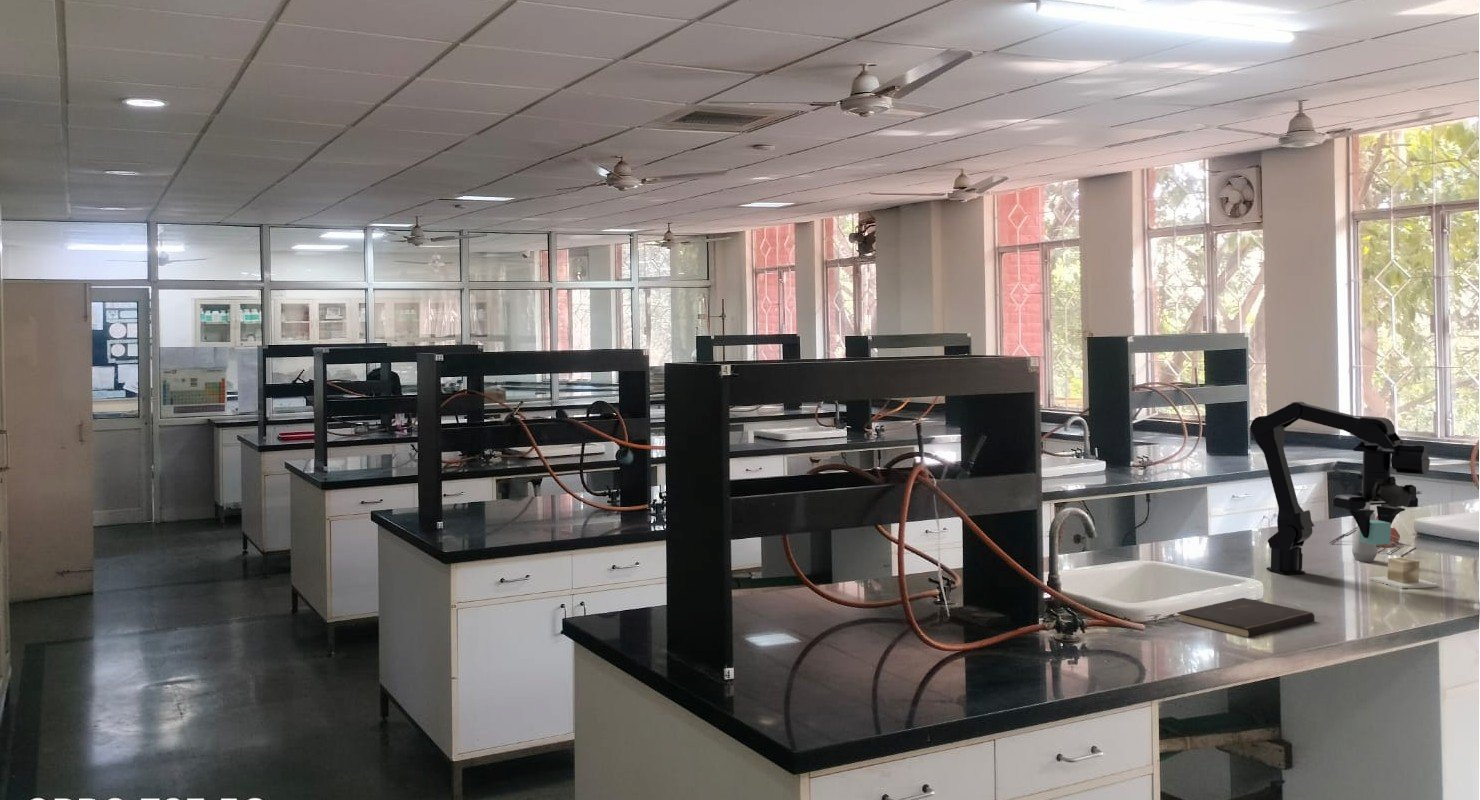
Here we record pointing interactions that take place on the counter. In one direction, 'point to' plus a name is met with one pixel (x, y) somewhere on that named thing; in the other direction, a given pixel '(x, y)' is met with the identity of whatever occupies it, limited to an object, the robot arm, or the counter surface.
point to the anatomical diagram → (1394, 539)
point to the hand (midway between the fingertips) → (1374, 537)
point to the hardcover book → (1246, 617)
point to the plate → (1403, 585)
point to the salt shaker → (1364, 547)
